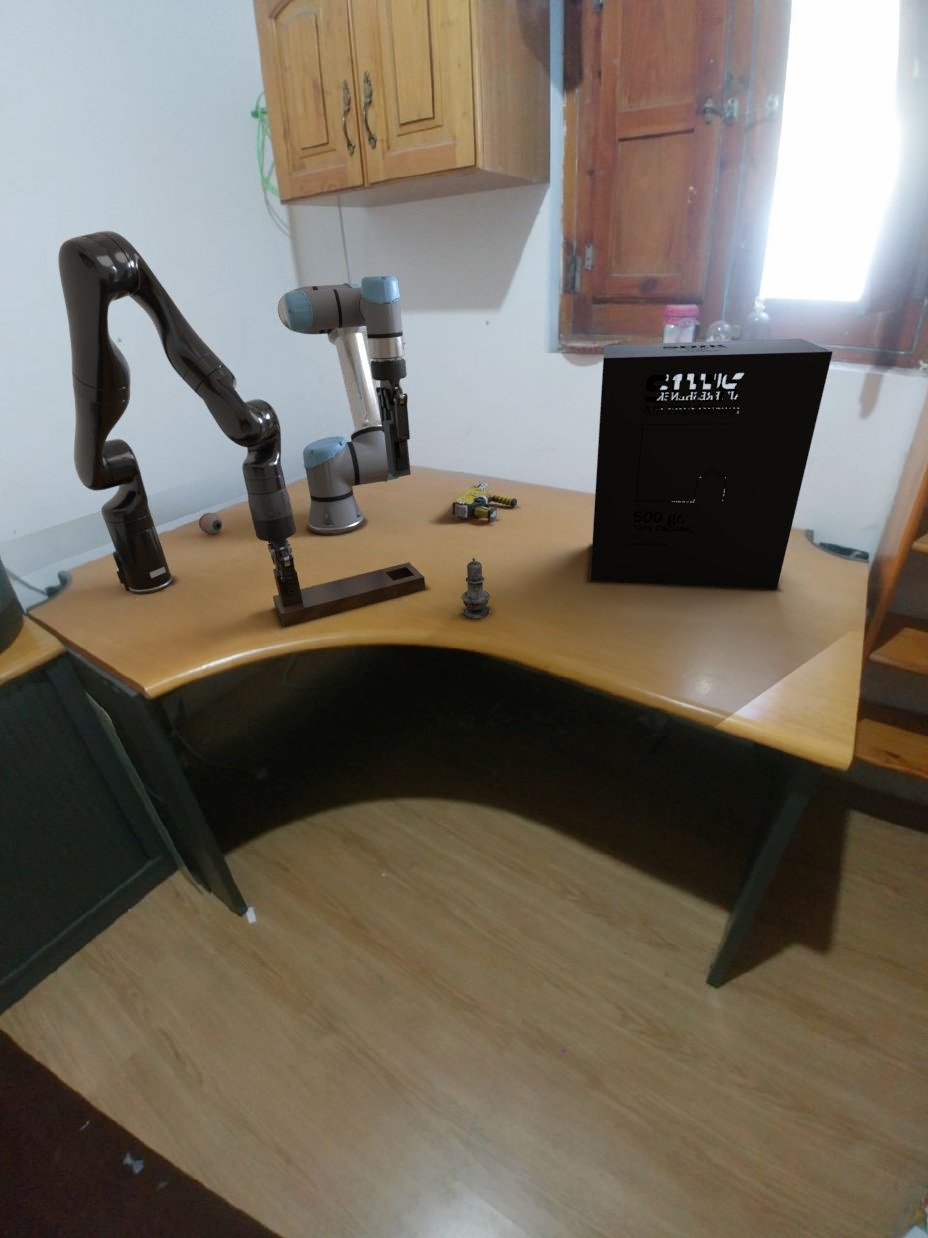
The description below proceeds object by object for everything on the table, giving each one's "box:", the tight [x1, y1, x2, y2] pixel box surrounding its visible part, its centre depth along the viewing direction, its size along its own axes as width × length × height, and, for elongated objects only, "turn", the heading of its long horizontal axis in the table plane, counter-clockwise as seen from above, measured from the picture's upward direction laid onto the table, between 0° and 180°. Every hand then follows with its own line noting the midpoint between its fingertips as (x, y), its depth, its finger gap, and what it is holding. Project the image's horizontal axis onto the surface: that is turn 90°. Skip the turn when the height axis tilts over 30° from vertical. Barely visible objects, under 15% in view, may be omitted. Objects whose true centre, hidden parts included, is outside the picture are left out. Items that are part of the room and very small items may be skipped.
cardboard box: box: [589, 338, 834, 590], centre depth 125 cm, size 38×20×45 cm, turn 78°
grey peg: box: [383, 420, 412, 478], centre depth 138 cm, size 4×4×12 cm
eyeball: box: [198, 512, 223, 536], centre depth 167 cm, size 6×6×6 cm
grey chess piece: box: [460, 557, 491, 619], centre depth 119 cm, size 6×6×12 cm
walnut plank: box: [272, 562, 426, 627], centre depth 128 cm, size 31×9×10 cm, turn 116°
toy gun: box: [451, 480, 518, 523], centre depth 174 cm, size 5×24×15 cm
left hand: (289, 591), depth 123 cm, fingers closed on walnut plank, 4 cm apart
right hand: (399, 467), depth 140 cm, fingers closed on grey peg, 4 cm apart
